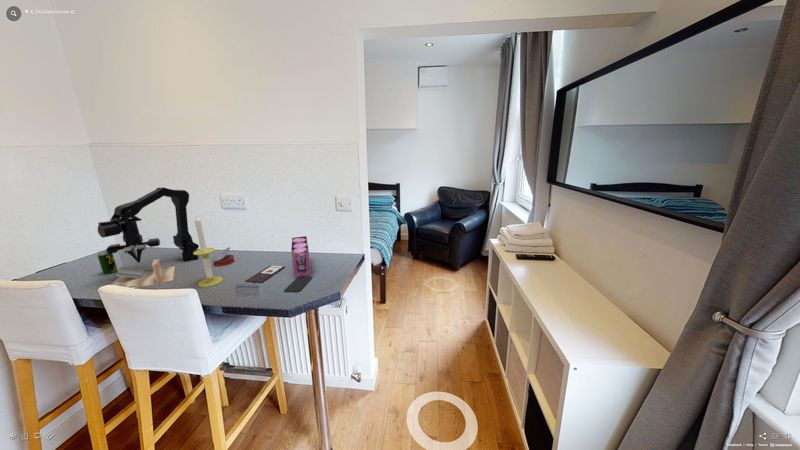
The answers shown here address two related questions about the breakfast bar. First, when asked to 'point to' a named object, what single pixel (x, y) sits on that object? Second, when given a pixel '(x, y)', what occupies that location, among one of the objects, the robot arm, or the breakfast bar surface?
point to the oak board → (145, 278)
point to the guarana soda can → (107, 263)
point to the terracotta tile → (157, 270)
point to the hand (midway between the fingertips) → (139, 262)
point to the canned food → (223, 258)
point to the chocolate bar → (265, 274)
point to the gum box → (300, 256)
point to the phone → (298, 284)
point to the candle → (205, 258)
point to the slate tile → (130, 272)
